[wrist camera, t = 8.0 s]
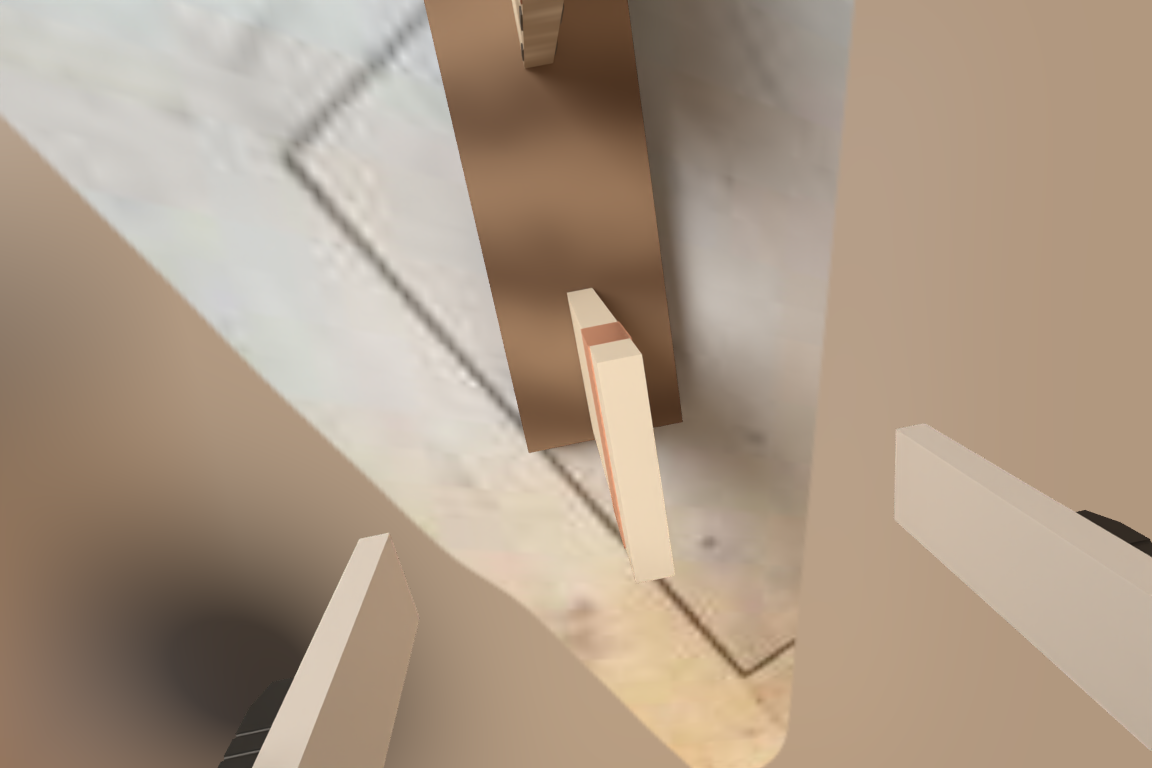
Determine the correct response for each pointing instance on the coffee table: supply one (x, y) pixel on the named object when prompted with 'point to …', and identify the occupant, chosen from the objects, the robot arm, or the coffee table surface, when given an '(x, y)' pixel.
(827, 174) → the coffee table surface
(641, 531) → the stub
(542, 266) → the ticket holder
